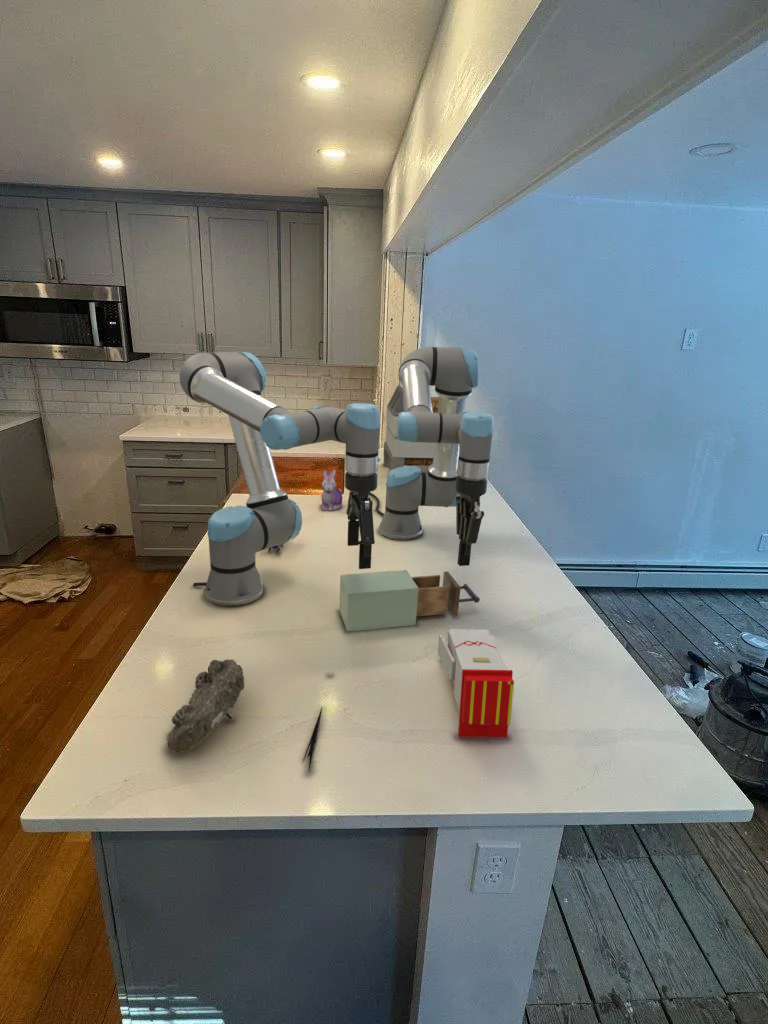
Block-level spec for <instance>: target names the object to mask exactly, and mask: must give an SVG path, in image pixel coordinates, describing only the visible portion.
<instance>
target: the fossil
mask: <svg viewBox="0 0 768 1024" xmlns="http://www.w3.org/2000/svg"><path fill="white" fill-rule="evenodd" d="M243 670H244V669H243V667H242V665H240V664H237V662H236V661H235V660H234V659H232V658H231V659H227V658H226V659H224V660H223V661H222V660H217V659H212V660H211V661H210V663H209V665H208V666H207V671H201V672H199V673H198V674H197V675H196V676H195V680H194V684H195V685H194V687H195V689H194V690H193V693H192V694H191V697H190V698H189V700H188V704H184V705H182V706H181V707H180V709H177V710H176V711H175V713H174V715H173V716H172V718H171V723H172V724H173V727H172V730H171V731H170V732H168V734H167V738H166V741H167V742H166V745H167V749H168V750H169V751H173V752H174V753H176V754H178V753H182V752H188V751H189V752H192V751H193V750H195V748H196V747H197V746H199V744H200V743H201V742H203V741H204V740H205V739H206V738H207V737H208V736H209V735H210V734H211V733H212V732H214V730H215V729H217V727H218V726H219V724H220V722H221V721H222V720H223V719H224V718H225V716H226V717H227V719H229V720H233V717H232V715H230V714H229V710H230V709H231V708H234V706H235V704H236V703H237V702H238V699H239V697H240V695H241V693H242V691H243V690H245V689H244V688H245V675H244V671H243Z"/></svg>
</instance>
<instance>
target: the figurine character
mask: <svg viewBox="0 0 768 1024" xmlns="http://www.w3.org/2000/svg"><path fill="white" fill-rule="evenodd" d="M283 548H284V544H279V545H276V546H274V547H271V548H268V549H267V552H268V553H271V552H272V549H277V550H276V553H280V550H281V549H283Z"/></svg>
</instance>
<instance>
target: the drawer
mask: <svg viewBox="0 0 768 1024" xmlns="http://www.w3.org/2000/svg"><path fill="white" fill-rule="evenodd" d="M442 576H443V579H442V586H441V585H440V584H441V575H440V574H434V575H433V574H432V575H421V576H411V578H412V579H413V581H414V582H415V584H416V585H417V587H418V602H417V615H416V617H424V616H425V617H426V616H433V615H434V616H437V615H445V614H447V611H449V612H450V614H451V615H452V616H453V617H459V608H460V603H465V602H468V603H469V602H473V603H475V604H477V603H479V602H480V600H481V599H480V596H478V594H477V593H476V592H475V591H474V590H473V588H472V587H471V586H470V585H469V584H468V583H464V584H463V585H460V584H459V583H458V582H457V581H456V579H455V578H454V577H453V575H451V573H450V572H449V571H443V575H442ZM461 590H464V591H465V592H466V594H467V595H468V596H469V597H468V598H461Z"/></svg>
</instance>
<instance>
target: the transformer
mask: <svg viewBox="0 0 768 1024" xmlns="http://www.w3.org/2000/svg"><path fill="white" fill-rule="evenodd" d="M430 397H431V404H432V410H433V413H438V403H439V396H430ZM401 412H404V401H403V386H402V385H401V384H400V385H399V384H398V385H397V386H396V388H395V390H394V392H393V394H392V395H391V398H390V400H389V402H388V404H387V405H386V413H385V414H386V415H385V423H386V428H385V438H384V442H383V466H384V467H388V468H389V472H390V471H391V470H392V469H395V468H398V467H405V466H413V467H429V466H430V465H431V464H433V456H434V446H435V443H428V442H413V443H412V442H407V441H400V440H399V439H398V437H397V425H398V415H399V413H401Z"/></svg>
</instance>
